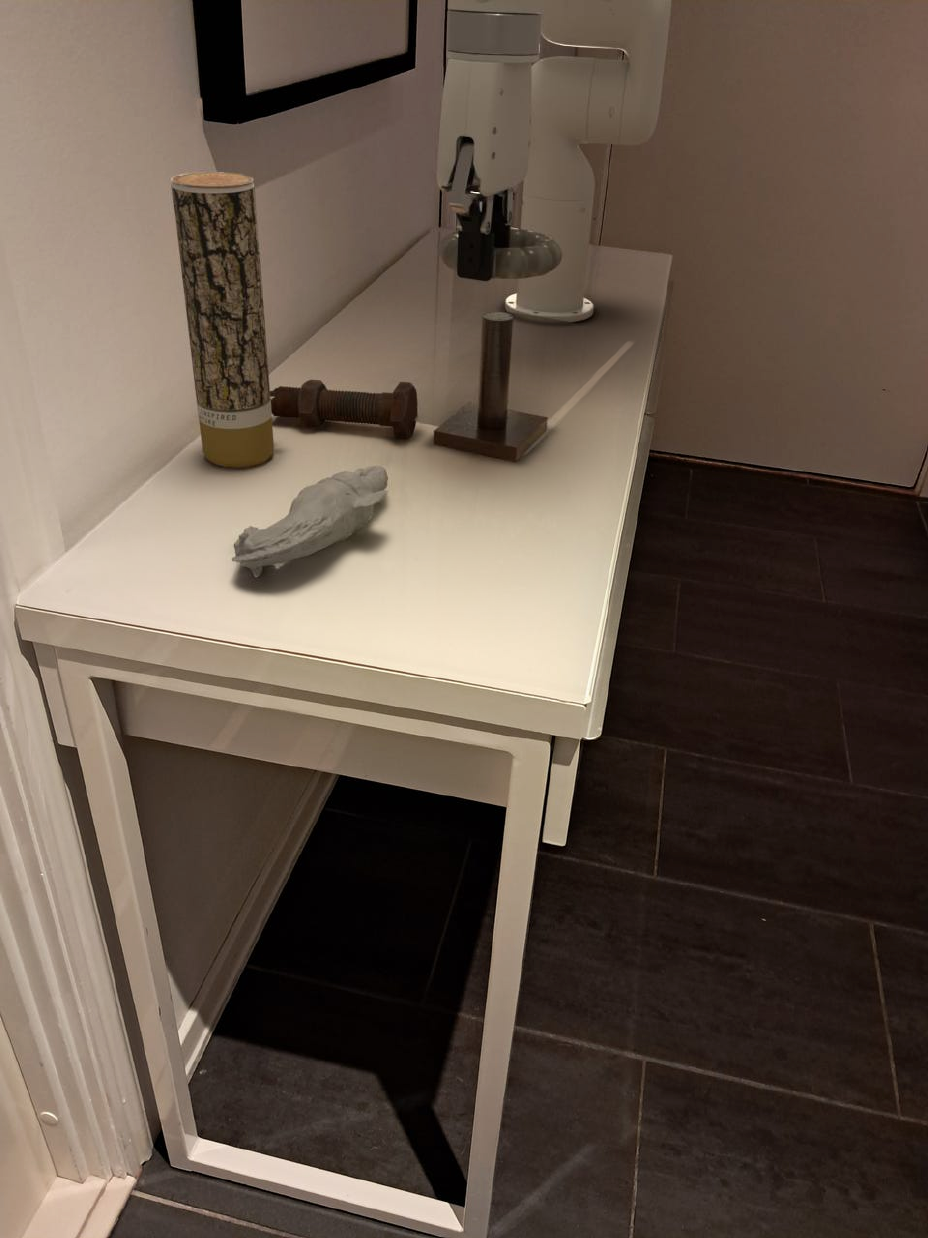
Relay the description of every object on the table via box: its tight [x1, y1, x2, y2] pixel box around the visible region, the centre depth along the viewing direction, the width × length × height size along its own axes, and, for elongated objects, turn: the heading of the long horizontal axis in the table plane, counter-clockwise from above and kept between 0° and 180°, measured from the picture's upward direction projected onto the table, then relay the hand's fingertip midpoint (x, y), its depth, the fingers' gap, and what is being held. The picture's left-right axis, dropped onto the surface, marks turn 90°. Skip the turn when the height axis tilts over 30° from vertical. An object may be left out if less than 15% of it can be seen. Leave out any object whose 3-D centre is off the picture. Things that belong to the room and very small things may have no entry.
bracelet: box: [438, 227, 562, 280], centre depth 92 cm, size 11×11×3 cm
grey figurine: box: [231, 465, 389, 578], centre depth 83 cm, size 5×12×20 cm
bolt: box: [270, 379, 418, 441], centre depth 102 cm, size 6×5×15 cm
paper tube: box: [170, 171, 275, 468], centre depth 90 cm, size 7×7×25 cm
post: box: [433, 311, 549, 463], centre depth 99 cm, size 9×9×12 cm
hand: (482, 271), depth 90 cm, fingers closed on bracelet, 3 cm apart
